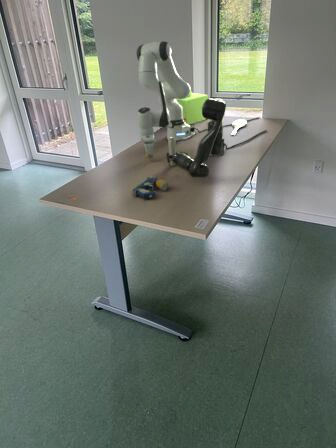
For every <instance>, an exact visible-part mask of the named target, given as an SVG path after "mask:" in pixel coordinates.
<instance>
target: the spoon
mask: <svg viewBox="0 0 336 448" xmlns="http://www.w3.org/2000/svg"><path fill="white" fill-rule="evenodd" d="M246 121H247V120H245V119H237V120H234V121H233V122H232V123H231V124H232V125H231V126H232V127H234V129H233V131H232V132H231V136H236V135H237V131H238V129H239V128H242V127H244V126H246V125H247V122H248V121H247V122H246Z"/></svg>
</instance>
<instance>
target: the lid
mask: <svg viewBox="0 0 336 448" xmlns="http://www.w3.org/2000/svg"><path fill="white" fill-rule="evenodd" d="M153 158H154V154H153V155H151V160H152V159H153ZM145 159H147V160H149V159H148V155H147V153H145Z"/></svg>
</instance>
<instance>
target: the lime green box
mask: <svg viewBox="0 0 336 448" xmlns="http://www.w3.org/2000/svg"><path fill="white" fill-rule="evenodd" d="M206 99H209V94H203V93H202V94H201V93H195V92H193V91H191V92H190V95H189V96H188V97H187V98H184V99H176V101H177V103H179V104H180V105H181V106H182V112H183V118H184V117H185V118H187V120H184V121H185V123H186V124H188V125H189V126H191V125H192V124H196V123H199V122H202V121H205V120H207V119H206V118H204V117H203V116H202V106H203V104H204V102H205V100H206Z"/></svg>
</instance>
